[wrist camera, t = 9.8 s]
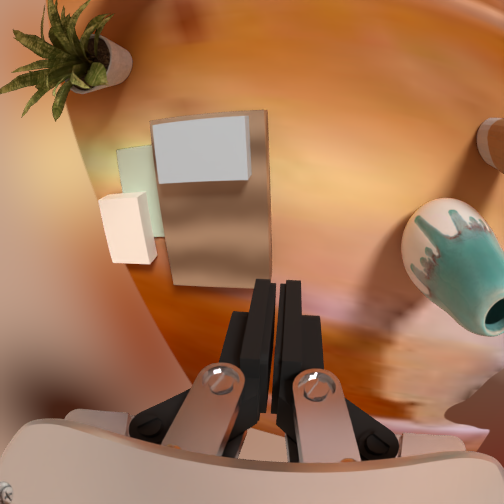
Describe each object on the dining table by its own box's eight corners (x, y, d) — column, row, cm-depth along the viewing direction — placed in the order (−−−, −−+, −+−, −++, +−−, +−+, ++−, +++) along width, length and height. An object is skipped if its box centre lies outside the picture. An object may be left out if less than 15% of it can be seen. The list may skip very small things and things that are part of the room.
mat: (117, 149, 34) (116, 150, 34) (166, 143, 33) (165, 143, 33) (132, 235, 39) (131, 236, 39) (178, 235, 39) (177, 236, 38)
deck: (164, 118, 32) (149, 120, 28) (267, 110, 30) (263, 109, 27) (183, 269, 41) (173, 284, 37) (272, 271, 39) (269, 288, 36)
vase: (375, 249, 36) (421, 350, 20) (423, 171, 30) (512, 230, 15) (436, 284, 37) (488, 377, 21) (481, 217, 31) (561, 288, 16)
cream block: (137, 197, 34) (146, 191, 36) (98, 200, 34) (108, 194, 37) (150, 264, 38) (157, 255, 40) (112, 262, 38) (121, 254, 41)
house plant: (197, 29, 26) (125, -18, 12) (149, 133, 33) (59, 159, 18) (105, 8, 25) (17, -17, 11) (68, 100, 31) (-25, 116, 17)
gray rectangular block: (168, 178, 31) (158, 183, 29) (162, 123, 28) (152, 125, 26) (251, 174, 30) (248, 180, 28) (248, 115, 27) (244, 116, 25)
